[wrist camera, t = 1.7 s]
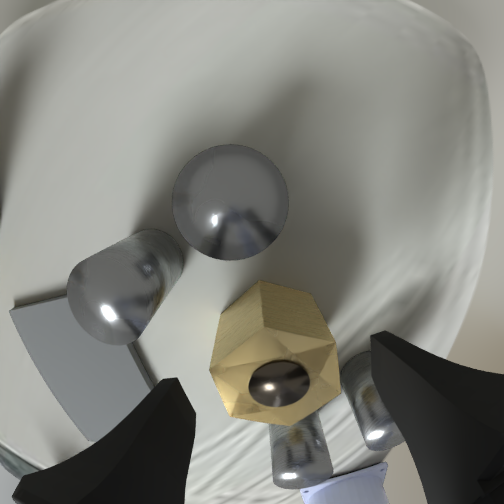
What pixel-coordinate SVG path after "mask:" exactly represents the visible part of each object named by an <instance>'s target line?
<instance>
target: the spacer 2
mask: <svg viewBox="0 0 504 504" xmlns="http://www.w3.org/2000/svg"><path fill="white" fill-rule="evenodd" d="M288 206H289V199H288V191H287V187H286V184H285V181H284V179H283V177H282V174H281V173H280V171H279V170H278V168H277V167H276V166H275V165H274V163H273V162H272V161H271V160H269V159H268V158H267V157H266V156H264V155H263V154H262V153H260V152H258V151H256V150H254V149H252V148H249V147H246V146H241V145H231V144H230V145H220V146H215V147H212V148H209V149H207V150H205V151H203V152H201V153H199V154H198V155H196V156H195V157H194V158H193V159H191V160H190V161H189V162H188V163H187V164H186V166H185V167H184V168H183V170H182V171H181V173H180V174H179V176H178V178H177V180H176V183H175V186H174V190H173V195H172V210H173V215H174V219H175V222H176V225H177V227H178V229H179V231H180V233H181V234H182V236H183V237H184V238H185V240H186V241H187V242H188V243H189V244H190V245H191V246H192V247H194V248H195V249H196V250H198V251H199V252H201V253H203V254H205V255H207V256H209V257H212V258H215V259H220V260H240V259H245V258H248V257H251V256H254V255H256V254H258V253H260V252H261V251H263V250H264V249H266V248H267V247H268V246H269V245H270V244H271V243H272V242H273V241H274V240H275V239H276V238H277V236H278V235H279V234H280V232H281V230H282V228H283V226H284V224H285V221H286V218H287V214H288Z"/></svg>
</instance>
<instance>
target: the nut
mask: <svg viewBox="0 0 504 504" xmlns="http://www.w3.org/2000/svg"><path fill="white" fill-rule="evenodd" d="M209 370H210V373H211V375H212V378H213V380H214V382H215V385H216V387H217V389H218V391H219V394H220V396H221V398H222V400H223V403H224V405H225V407H226V409H227V411H228V414H229V416H230V417H235V418H240V419H245V420H251V421H257V422H263V423H270V424H277V425H285V426H291V425H293V424H295V423H297V422H298V421H300V420H301V419H303V418H305V417H306V416H308V415H309V414H311V413H313V412H314V411H316V410H317V409H319V408H320V407H322V406H323V405H325V404H326V403H328V402H329V401H331V400H332V399H334V398H335V397H336V396H338V395H339V394H341V388H340V376H339V366H338V356H337V348H336V342H335V340H334V338H333V336H332V334H331V332H330V330H329V328H328V326H327V324H326V322H325V320H324V318H323V316H322V314H321V312H320V310H319V309H318V307H317V305H316V303H315V301H314V299H313V297H312V295H311V294H310V293H306V292H302V291H298V290H295V289H291V288H287V287H283V286H279V285H276V284H272V283H268V282H264V281H261V280H259V281H258V282H257V283H255V284H254V285H253V286H252V287H251V288H250V289H249V290H248V291H246V292H245V293H244V294H243V295H242V296H241V297H240V298H239V299H237V300H236V301H235V302H234V303H233V304H232V305H231V306H230V307H228V308H227V309H226V310H225V311H224V312H223V313H222V314H221V315H220V319H219V324H218V329H217V334H216V339H215V344H214V349H213V354H212V359H211V363H210V369H209Z"/></svg>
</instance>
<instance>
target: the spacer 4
mask: <svg viewBox="0 0 504 504" xmlns="http://www.w3.org/2000/svg"><path fill="white" fill-rule="evenodd" d="M340 382H341V384H342V387H343V389H344V392H345V394H346V396H347V399H348V401H349V404H350V406H351V408H352V411H353V413H354V416H355V418H356V421H357V423H358V426H359V428H360V431H361V433H362V436H363V438H364V441H365V443H366V446H367V447H368V448H369V449H370V450H374V451H380V450H386V449H389V448H392V447H395V446H397V445H399V444H400V443H402V442H404V441H405V439H404V437H403V436H402V434H401V432H400V430H399V429H398V427H397V425H396V424H395V422H394V420H393V419H392V417H391V415H390V413H389V412H388V410H387V408H386V407H385V405H384V403H383V402H382V400H381V398H380V396H379V394H378V391H377V389H376V387H375V384H374V382H373V379H372V377H371V351H366V352H363V353H360V354H358V355H356V356H354V357H353V358H352V359H350V360H349V361H348V362H347V363H346V364H345V366H344V367H343V369H342V371H341V374H340Z"/></svg>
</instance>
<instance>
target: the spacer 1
mask: <svg viewBox="0 0 504 504" xmlns="http://www.w3.org/2000/svg"><path fill="white" fill-rule="evenodd" d="M182 270H183V257H182V253H181V250H180V248H179V246H178V244H177V243H176V242H175V240H174V239H173V238H172V237H170V236H169V235H168V234H166V233H164V232H162V231H160V230H156V229H146V230H142V231H140V232H138V233H136V234H134V235H131V236H129V237H127V238H125V239H123V240H121V241H119V242H117V243H116V244H114V245H112V246H110V247H108V248H106V249H104V250H102V251H100V252H98V253H96V254H94V255H92V256H91V257H89V258H87V259H85V260H83V261H81V262H80V263H78V264H77V265H76V266H75V267H74V269H73V270H72V272H71V274H70V276H69V279H68V283H67V297H68V302H69V306H70V309H71V311H72V313H73V315H74V317H75V319H76V320H77V322H78V323H79V325H80V326H81V327H82V328H83V329H84V330H85V331H86V332H87V333H88V334H89V335H91V336H92V337H93V338H95V339H97V340H99V341H101V342H103V343H106V344H110V345H117V346H118V345H126V344H129V343H131V342H133V341H135V340H136V339H137V338H139V336H140V335H141V334H142V332H143V331H144V329H145V328H146V326H147V325H148V323H149V322H150V320H151V319H152V317H153V316H154V314H155V313H156V311H157V310H158V308H159V307H160V305H161V304H162V303H163V301H164V300H165V298H166V297H167V295H168V294H169V292H170V291H171V289H172V288H173V286H174V285H175V284H176V282H177V281H178V279H179V278H180V276H181V273H182Z"/></svg>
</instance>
